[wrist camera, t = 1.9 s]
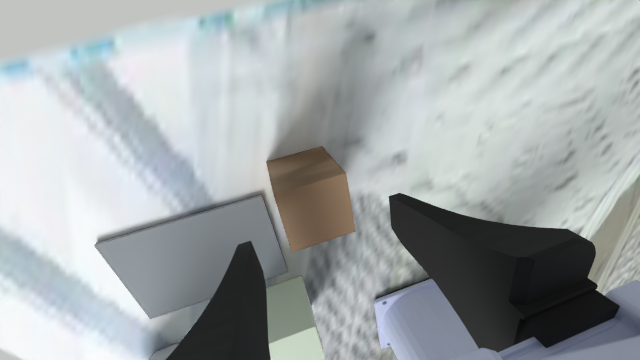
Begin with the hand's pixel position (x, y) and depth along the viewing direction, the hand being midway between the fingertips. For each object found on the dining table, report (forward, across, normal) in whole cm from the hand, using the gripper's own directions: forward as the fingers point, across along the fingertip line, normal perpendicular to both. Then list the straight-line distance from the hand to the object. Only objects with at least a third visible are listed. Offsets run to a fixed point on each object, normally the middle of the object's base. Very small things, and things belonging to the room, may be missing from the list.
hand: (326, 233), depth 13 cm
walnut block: (+7, 0, 0) cm, 7 cm away
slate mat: (+7, +8, +4) cm, 12 cm away
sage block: (+7, +4, +11) cm, 14 cm away
